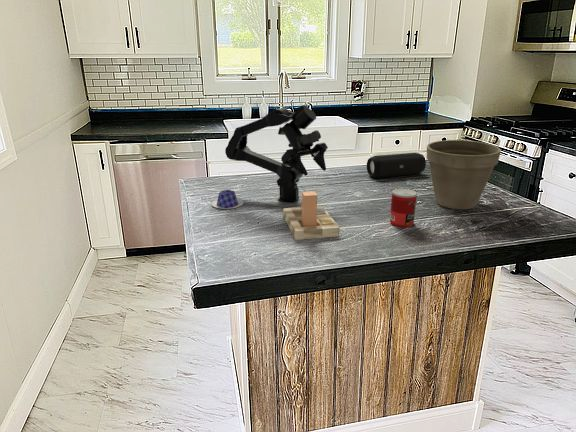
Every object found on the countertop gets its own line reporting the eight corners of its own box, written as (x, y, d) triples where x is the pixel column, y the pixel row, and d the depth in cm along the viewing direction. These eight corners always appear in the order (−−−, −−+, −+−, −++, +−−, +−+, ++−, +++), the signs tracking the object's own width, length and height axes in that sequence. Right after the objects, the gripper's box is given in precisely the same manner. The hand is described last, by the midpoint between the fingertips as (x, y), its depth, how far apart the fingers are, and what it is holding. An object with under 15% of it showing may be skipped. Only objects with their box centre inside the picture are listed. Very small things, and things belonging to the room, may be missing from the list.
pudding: (224, 198, 176) (224, 185, 174) (249, 203, 171) (249, 189, 169) (205, 207, 167) (204, 193, 165) (230, 212, 161) (230, 198, 159)
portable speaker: (374, 180, 197) (376, 158, 193) (365, 175, 205) (366, 153, 202) (425, 176, 203) (428, 154, 199) (414, 170, 212) (416, 150, 208)
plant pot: (453, 219, 153) (461, 157, 145) (407, 198, 174) (413, 143, 166) (506, 208, 162) (517, 150, 154) (457, 190, 183) (464, 137, 175)
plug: (301, 229, 145) (301, 191, 140) (313, 229, 145) (314, 191, 141) (304, 234, 141) (304, 195, 136) (316, 233, 142) (317, 194, 137)
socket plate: (283, 216, 156) (283, 207, 155) (321, 213, 158) (322, 204, 157) (295, 240, 137) (295, 230, 136) (339, 236, 140) (339, 226, 138)
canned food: (409, 229, 145) (412, 197, 141) (386, 224, 149) (388, 193, 145) (416, 221, 151) (420, 190, 147) (393, 217, 155) (396, 187, 151)
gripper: (286, 126, 151) (308, 164, 147) (324, 120, 162) (346, 155, 158) (271, 146, 159) (292, 182, 155) (309, 138, 171) (329, 172, 167)
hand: (316, 172), depth 159 cm, fingers open, 9 cm apart
